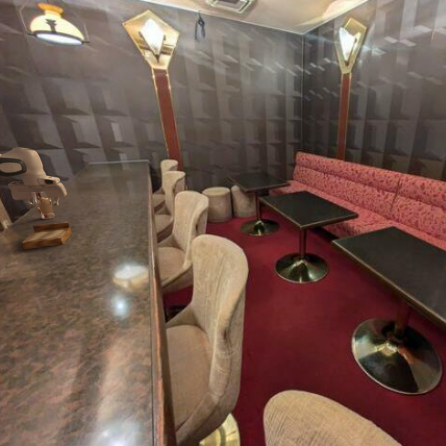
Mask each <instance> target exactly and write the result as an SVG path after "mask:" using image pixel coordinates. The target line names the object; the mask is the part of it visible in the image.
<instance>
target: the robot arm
mask: <svg viewBox="0 0 446 446" xmlns="http://www.w3.org/2000/svg"><path fill="white" fill-rule="evenodd" d="M15 176H20V177H21V180H19V181H11V182H9V183H8V184H7V186H8V188H9V190H10V193H11V197H12V199H13V200H15V201H23V202H24V203H25V204H27V205H28V206H29V208H36V206H35V204H34V202H31V200H32V196H31V192H42V191H45V193H46V195H47V197H48V198H51V199H52V198H53V199H54V200H55V201H52V204H53V206H55V207H56V206H59V201H60V198H65V197H66V196H67V195H68V192H67V189H66V187H65V185H64V184H63V183H62V182H61V179H60V178H59V177H56V176H49V175H47V173H46V172H45V170H44V165H43V162H42V160H41V157H40V155H39V153H38V152H37V150H34V149H32V148H28V147H27V148H25V147H13V148H12V149H11V150H8V151H7V152H5V153H0V177H2V178H11V177H15Z"/></svg>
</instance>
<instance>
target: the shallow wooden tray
mask: <svg viewBox="0 0 446 446" xmlns="http://www.w3.org/2000/svg"><path fill="white" fill-rule="evenodd" d="M32 229H33V232H32V233H31V234H30V235H29V236H28V237H26V238H25V239H24V240H23V241H22V242H21V245H22V247H23V250H31V249H37V248H45V247H54V246H60V245H64V244H65V243H66V242H67V240H68V238H69V237H70V236H71V234H72V233H73V232H72V229H71V224H70V222H69V221H62V222H54V223H42V224H35V225H32Z"/></svg>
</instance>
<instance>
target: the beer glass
mask: <svg viewBox="0 0 446 446" xmlns="http://www.w3.org/2000/svg"><path fill="white" fill-rule="evenodd" d="M31 196H32V199H31V201H32V203H34V204H35V208H36V209H37V210H38V213H39V217H40V220H51V219H55V218H56V217H57V215H56V214H55V211H54V209H53V208H54V207H53V200H52V198H48V197H47V195H46V193H45V191H42V192H31Z"/></svg>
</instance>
